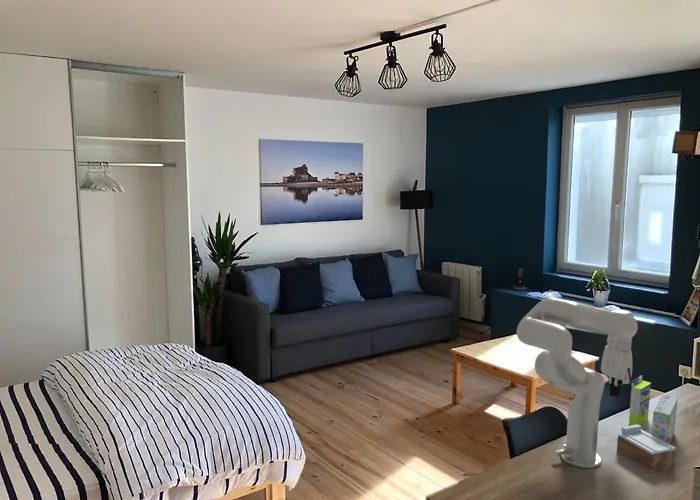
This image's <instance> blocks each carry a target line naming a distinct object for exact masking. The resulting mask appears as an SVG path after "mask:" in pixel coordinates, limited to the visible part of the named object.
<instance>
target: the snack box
mask: <svg viewBox="0 0 700 500" xmlns="http://www.w3.org/2000/svg"><path fill="white" fill-rule="evenodd" d="M678 402H679V396H677V395H672V394H669V393H668V394H667V393H662V395H661V397H660V398H659V401H658V403H657V404H656V406H655V408H654V410H653V414H652V415H653V416H652V425H651V433H650V434H651V435H653V436H655V437H657V438H658V439H660V440H662V441H664V442H666V443H668V444H670V445H671V443H672V441H673V438H674V435H675V428H676V417H677V412H678V411H677V410H678Z"/></svg>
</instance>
